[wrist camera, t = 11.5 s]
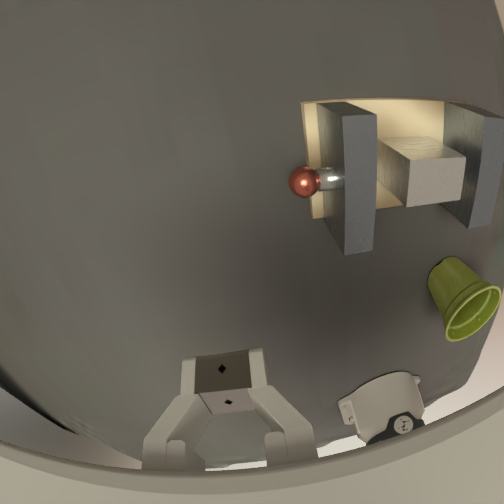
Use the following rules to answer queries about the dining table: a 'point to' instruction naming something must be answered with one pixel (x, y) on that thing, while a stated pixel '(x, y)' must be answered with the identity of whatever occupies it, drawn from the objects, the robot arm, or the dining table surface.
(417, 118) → the vise board
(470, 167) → the fixed jaw
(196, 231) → the dining table surface
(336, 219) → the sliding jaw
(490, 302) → the plant pot
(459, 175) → the block
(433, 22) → the dining table surface
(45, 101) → the dining table surface
